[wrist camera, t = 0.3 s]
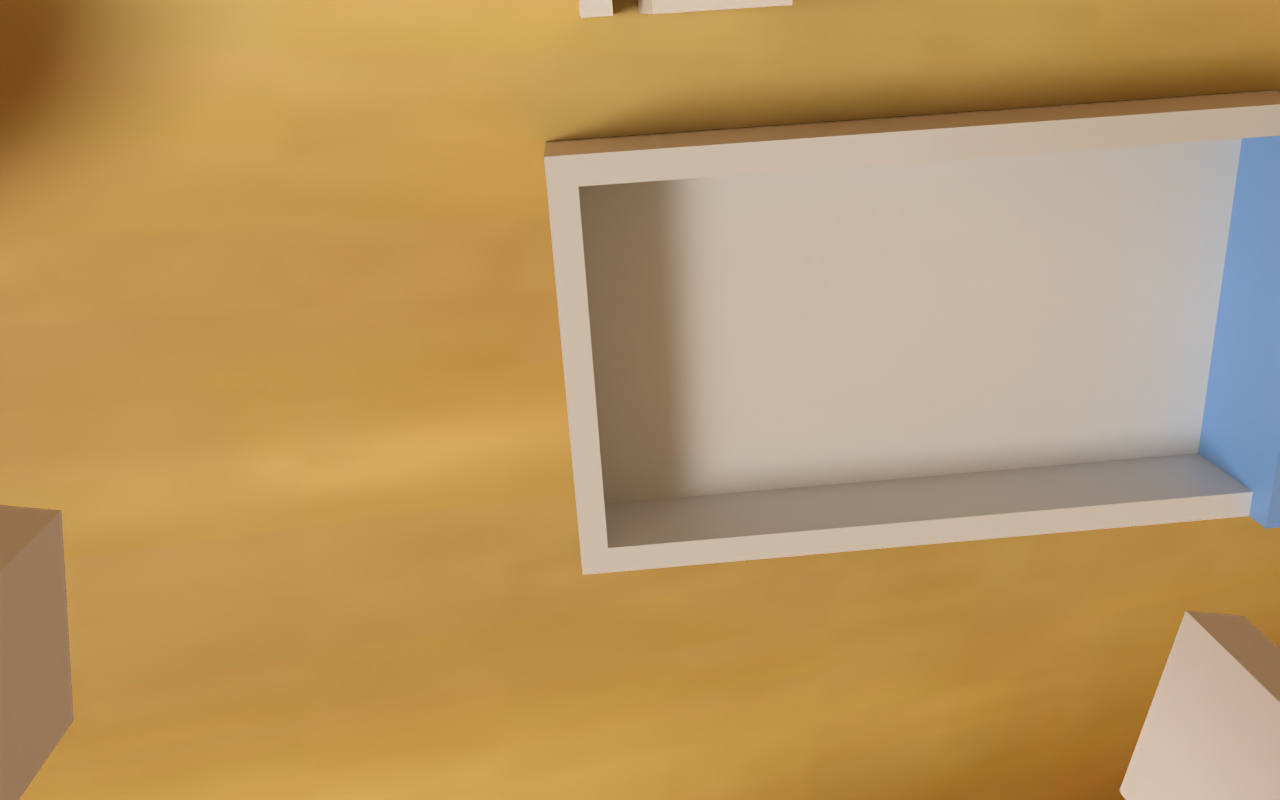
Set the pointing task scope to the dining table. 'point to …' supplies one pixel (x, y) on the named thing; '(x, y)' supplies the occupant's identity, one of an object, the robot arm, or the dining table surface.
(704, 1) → the cream u-shaped bracket
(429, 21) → the dining table surface
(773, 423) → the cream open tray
